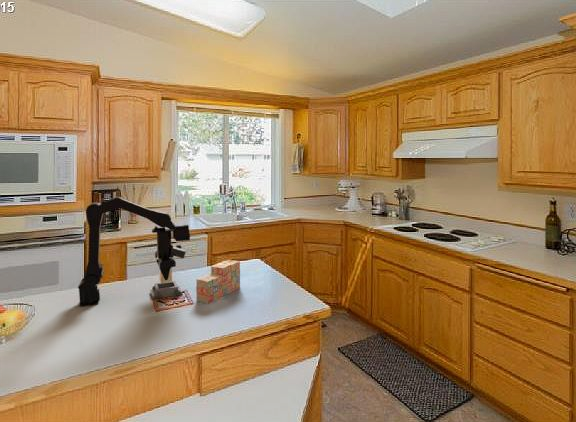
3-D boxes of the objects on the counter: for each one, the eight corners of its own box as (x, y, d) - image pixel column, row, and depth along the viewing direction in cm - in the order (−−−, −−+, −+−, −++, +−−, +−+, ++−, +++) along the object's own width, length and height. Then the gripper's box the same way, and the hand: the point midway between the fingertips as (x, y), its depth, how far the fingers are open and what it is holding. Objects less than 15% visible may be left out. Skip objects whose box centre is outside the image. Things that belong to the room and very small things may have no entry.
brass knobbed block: (160, 282, 152) (160, 266, 151) (159, 279, 156) (158, 263, 155) (172, 281, 154) (171, 265, 153) (170, 278, 158) (169, 262, 157)
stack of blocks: (208, 304, 145) (207, 274, 143) (196, 300, 148) (195, 271, 146) (240, 287, 164) (240, 261, 162) (229, 285, 167) (228, 258, 165)
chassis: (152, 299, 148) (152, 291, 148) (150, 291, 157) (150, 283, 157) (183, 295, 154) (182, 287, 153) (179, 287, 162) (178, 279, 162)
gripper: (188, 245, 147) (189, 282, 150) (180, 236, 164) (181, 269, 166) (159, 248, 142) (160, 286, 145) (154, 238, 159) (155, 272, 161)
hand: (165, 278), depth 154 cm, fingers closed on brass knobbed block, 4 cm apart
